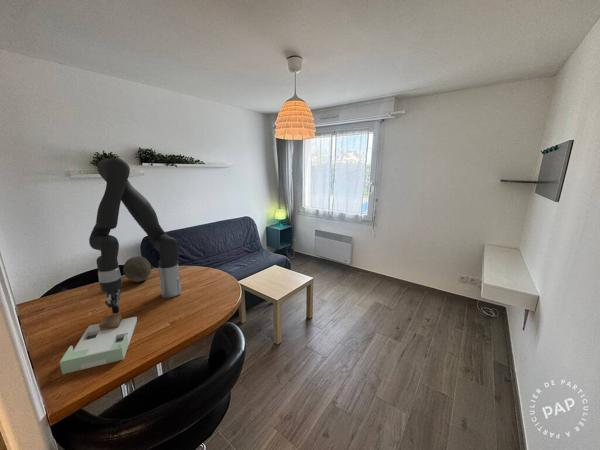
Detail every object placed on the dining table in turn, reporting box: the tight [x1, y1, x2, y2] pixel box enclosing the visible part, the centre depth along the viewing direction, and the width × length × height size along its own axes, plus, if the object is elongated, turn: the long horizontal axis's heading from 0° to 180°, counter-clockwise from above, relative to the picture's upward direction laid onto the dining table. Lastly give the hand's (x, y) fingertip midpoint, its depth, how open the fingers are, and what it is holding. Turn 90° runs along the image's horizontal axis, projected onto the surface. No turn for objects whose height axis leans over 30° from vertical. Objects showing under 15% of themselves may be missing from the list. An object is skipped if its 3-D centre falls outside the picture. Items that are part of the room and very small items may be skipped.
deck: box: [59, 316, 138, 375], centre depth 92 cm, size 17×24×5 cm
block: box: [98, 313, 123, 331], centre depth 100 cm, size 6×6×3 cm
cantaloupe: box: [122, 255, 152, 283], centre depth 140 cm, size 14×14×15 cm
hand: (116, 312), depth 107 cm, fingers closed
